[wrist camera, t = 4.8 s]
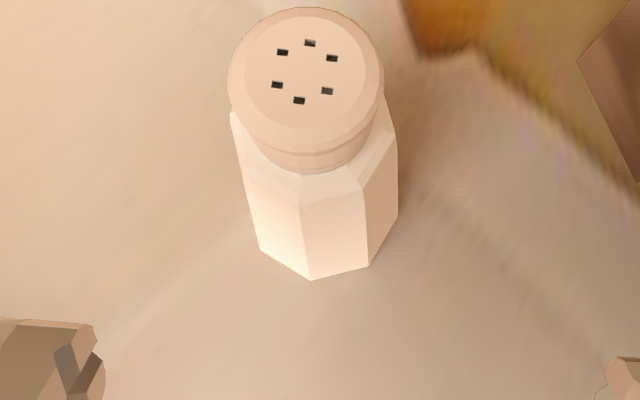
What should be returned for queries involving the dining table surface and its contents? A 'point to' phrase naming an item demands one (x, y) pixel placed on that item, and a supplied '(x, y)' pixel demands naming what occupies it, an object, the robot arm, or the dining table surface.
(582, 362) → the dining table surface
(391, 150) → the pepper shaker
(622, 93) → the walnut block
